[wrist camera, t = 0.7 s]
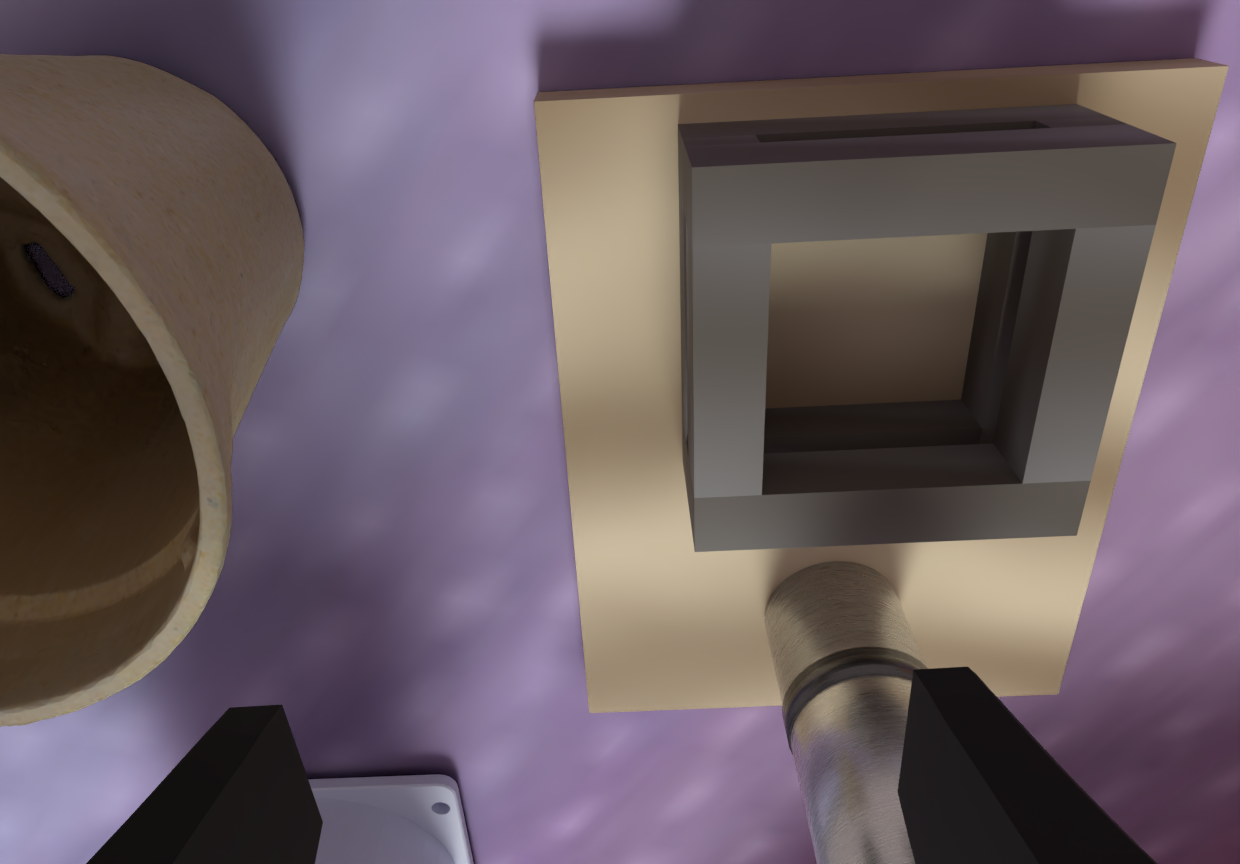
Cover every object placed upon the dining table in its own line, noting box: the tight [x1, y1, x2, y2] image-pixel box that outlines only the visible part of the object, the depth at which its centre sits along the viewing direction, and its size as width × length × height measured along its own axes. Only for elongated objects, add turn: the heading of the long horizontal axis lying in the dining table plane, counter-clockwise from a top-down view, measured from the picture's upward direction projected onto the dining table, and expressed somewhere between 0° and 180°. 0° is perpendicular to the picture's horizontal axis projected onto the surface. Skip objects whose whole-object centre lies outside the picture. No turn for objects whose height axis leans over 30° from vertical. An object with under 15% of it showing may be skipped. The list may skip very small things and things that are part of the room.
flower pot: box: [0, 54, 304, 727], centre depth 14 cm, size 9×9×9 cm
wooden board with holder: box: [534, 58, 1229, 713], centre depth 18 cm, size 15×12×4 cm
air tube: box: [764, 561, 928, 864], centre depth 18 cm, size 3×3×9 cm
